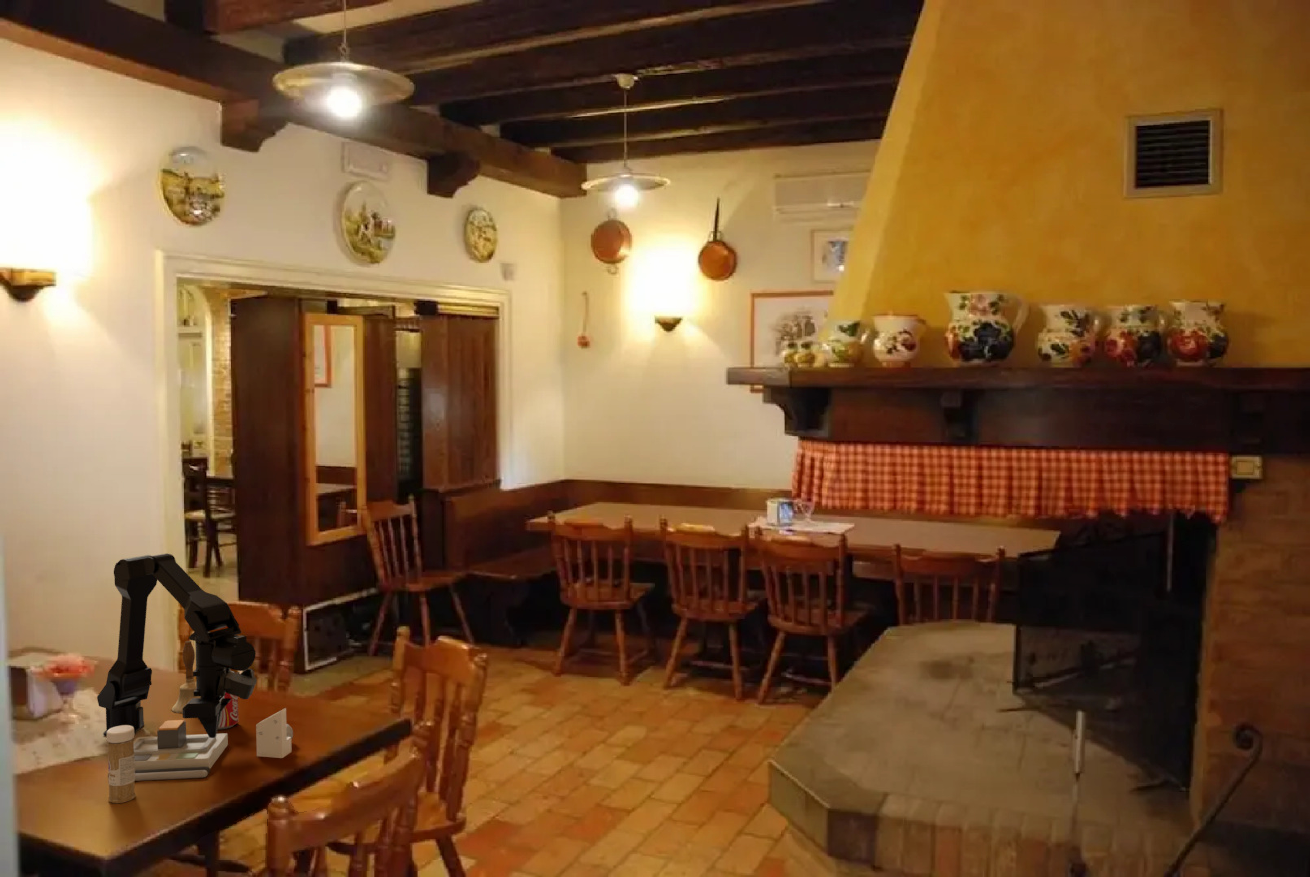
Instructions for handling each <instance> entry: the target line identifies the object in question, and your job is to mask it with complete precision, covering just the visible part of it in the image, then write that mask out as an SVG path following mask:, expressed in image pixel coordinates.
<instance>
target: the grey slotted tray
mask: <svg viewBox="0 0 1310 877" xmlns="http://www.w3.org/2000/svg"><path fill="white" fill-rule="evenodd" d="M228 735H229V734H228V733H227V732H226V733H223V732H222V733H217V734H216V737H215V738H210V737H209V736H208V734H207V733H206V734H205V733H203V734H202V733H201V734H186V742H185V743H184V744H183V745H182V746H181V747H180V748H172V749H158V741H157V735H156V736H138V737H136V739H134V740H133V741H134V762H135V770H147V769H168V768H189V767H209V768H210V769H212V767H213V765H214V764H215V763H216V761H217V760H218V759H219V758H220V756H221V755H222V754H223V752H224V751H225V749H226V748H227V747H228V745H229V744H228V743H229V742H228V739H229V736H228Z"/></svg>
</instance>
